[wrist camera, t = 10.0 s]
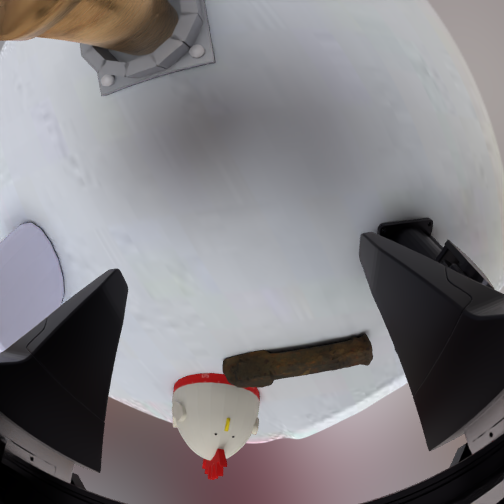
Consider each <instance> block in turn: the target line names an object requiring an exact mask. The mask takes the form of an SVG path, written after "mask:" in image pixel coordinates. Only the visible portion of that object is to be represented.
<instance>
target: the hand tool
mask: <svg viewBox="0 0 504 504" xmlns="http://www.w3.org/2000/svg"><path fill="white" fill-rule="evenodd" d="M372 359H373V354H372V345H371V342H370V341H369V339H368V337H367V335H366V334H364V335H362V337H360V338H357V337H354V336H353V337H352V339H351V340H349V341H344V342H339V343H335V344H330V345H324V346H319V347H312V348H307V349H300V350H295V351H288V352H281V353H269V352H268V351H266V350H260V351H254V352H249V353H245V354H241V355H237V356H234V357H231V358H228V359H225V360H224V361H223V373H224V375H225V376H226V379H227V381H228V382H229V383H231V384H232V385H234V386H236V387H238V388H247V387H265V386H269V385H271V384H272V383H273V381H274V380H277V379H282V378H288V377H294V376H301V375H308V374H314V373H319V372H324V371H329V370H337V369H342V368H345V367H351V366H355V365H359V364H362V365H369V364H370V362H371V361H372Z"/></svg>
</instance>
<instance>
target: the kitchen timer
mask: <svg viewBox="0 0 504 504" xmlns="http://www.w3.org/2000/svg"><path fill="white" fill-rule="evenodd" d="M172 403H173V406H172V415H173V427H174V428H175V427H178V430H179V432H180V433H181V436H182V437H183V439H184V440H185V442H186V443H187V445H188V446H189V447H190V448H191V449H192V450H193V451H194V452H195V453H196V454H197V455H199V456H201V457H202V458H204V460H203V466H202V468H203V469H205V474H208V479H212V480H214V479H215V478H216V479H218V476H223V467H227V461H226V458H229V457H230V456H232V455H233V454H235V453H236V452H237V451H238V450H240V449H241V448H242V447H243V446H244V444H245V443H246V442H247V440H248V439H249V437H250V436H251V434H254V435H256V434H257V431H258V425H259V419H258V418H257V416H258V412H259V403H260V397H259V391H258V389H257V387H247V388H238V387H236V386H234V385H232V384H231V383H229V382H228V381H227V379H226V376H225V375H224V374H215V373H203V374H194V375H189V376H186V377H184V378H181V379H179V380H178V381H177V382H176V383H175V386H174V391H173V399H172Z"/></svg>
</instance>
